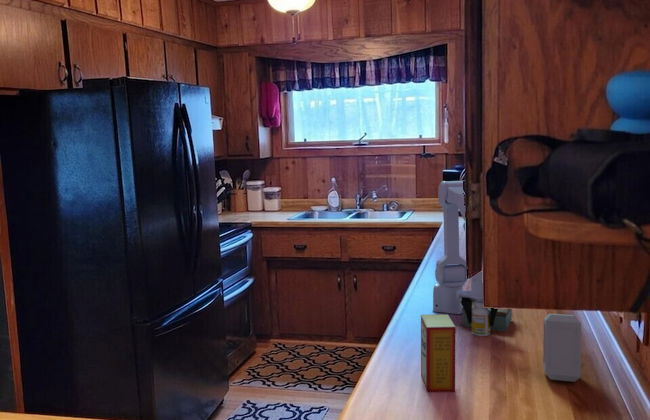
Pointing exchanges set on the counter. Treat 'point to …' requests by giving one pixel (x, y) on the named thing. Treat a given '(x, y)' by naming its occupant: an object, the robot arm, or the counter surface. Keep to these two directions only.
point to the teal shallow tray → (499, 322)
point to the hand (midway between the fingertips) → (480, 323)
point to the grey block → (562, 347)
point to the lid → (499, 312)
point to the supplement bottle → (480, 319)
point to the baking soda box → (438, 353)
